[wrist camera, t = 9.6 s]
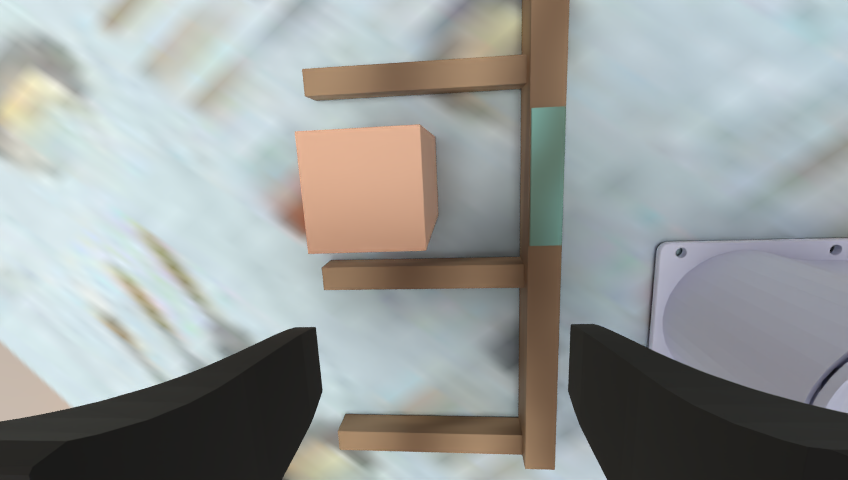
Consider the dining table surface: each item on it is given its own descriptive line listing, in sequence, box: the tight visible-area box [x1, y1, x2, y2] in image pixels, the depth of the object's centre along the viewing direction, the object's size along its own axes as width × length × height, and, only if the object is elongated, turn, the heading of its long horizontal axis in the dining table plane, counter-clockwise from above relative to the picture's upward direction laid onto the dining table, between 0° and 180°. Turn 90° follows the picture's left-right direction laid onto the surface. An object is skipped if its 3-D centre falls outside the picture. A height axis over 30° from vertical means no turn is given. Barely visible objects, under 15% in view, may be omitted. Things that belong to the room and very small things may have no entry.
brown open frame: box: [302, 0, 569, 470], centre depth 19 cm, size 12×30×3 cm, turn 2°
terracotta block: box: [295, 124, 438, 254], centre depth 17 cm, size 4×4×8 cm
